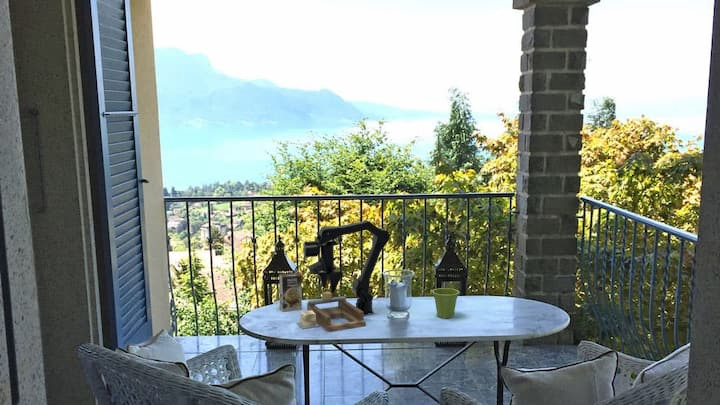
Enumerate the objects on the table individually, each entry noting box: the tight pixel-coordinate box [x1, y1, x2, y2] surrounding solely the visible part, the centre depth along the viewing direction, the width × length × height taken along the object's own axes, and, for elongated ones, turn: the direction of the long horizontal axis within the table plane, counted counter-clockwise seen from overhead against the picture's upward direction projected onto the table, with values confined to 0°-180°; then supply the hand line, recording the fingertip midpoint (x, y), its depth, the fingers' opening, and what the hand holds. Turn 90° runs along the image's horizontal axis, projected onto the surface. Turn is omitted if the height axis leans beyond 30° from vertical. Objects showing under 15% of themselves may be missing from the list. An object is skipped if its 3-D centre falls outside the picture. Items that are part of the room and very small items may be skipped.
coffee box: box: [279, 272, 303, 312], centre depth 271 cm, size 9×6×16 cm
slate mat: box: [296, 321, 321, 330], centre depth 249 cm, size 8×8×1 cm
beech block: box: [300, 310, 317, 327], centre depth 248 cm, size 5×5×5 cm
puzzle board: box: [306, 300, 367, 333], centre depth 255 cm, size 17×24×6 cm
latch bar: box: [307, 291, 347, 306], centre depth 262 cm, size 17×3×4 cm, turn 116°
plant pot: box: [431, 287, 460, 319], centre depth 260 cm, size 12×12×11 cm
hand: (328, 290), depth 260 cm, fingers open, 9 cm apart
